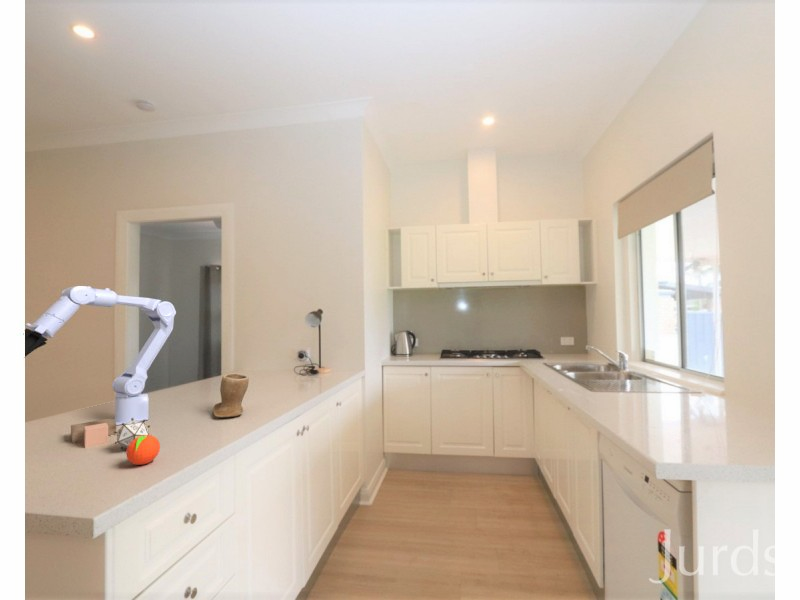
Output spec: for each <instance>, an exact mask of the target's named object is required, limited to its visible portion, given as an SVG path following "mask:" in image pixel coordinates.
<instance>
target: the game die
mask: <svg viewBox="0 0 800 600" xmlns="http://www.w3.org/2000/svg"><path fill="white" fill-rule="evenodd" d="M131 420H132V421H130V422H128V423H126V424H124V423H122V424H121V427H120V428H119V429H118V430H117V431H116V432H114V433H116V440H117V441H114V443H113V444H114V445H117V444H119V445H120V446H121V447H120V450H123V449H124V448H126V449H127V448H128V446H129V444H130V443H131V442H132V441H133V440H134V439H135V438H137V437H139V436H143V435H150V432H149V428H150V427H151V425H147V424H145V422H146V420H143V421H134V419H133V418H132V419H131ZM151 436H153V435H152V434H151Z"/></svg>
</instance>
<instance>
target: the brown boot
mask: <svg viewBox="0 0 800 600" xmlns="http://www.w3.org/2000/svg"><path fill="white" fill-rule="evenodd" d="M249 380H250V378H249V376H247V375H246V374H241V373H233V372H231V373H225V374H224V375H223V376H222V378H221V381H220V382H221V383H220V388H219V389H220V390H219V392H220V398H221V401H220V402H218V403H216V404H215V405H214V407H213V416H215V418H231V417H237V416H240V415H242V414H243V413H244V408H243V407H242V402H243V399H244V397H245V394H246V392H247V390H248V387H249Z"/></svg>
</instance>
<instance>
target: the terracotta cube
mask: <svg viewBox="0 0 800 600" xmlns="http://www.w3.org/2000/svg"><path fill="white" fill-rule="evenodd" d="M106 443H108V444H109V437H108V425H107V423H102V424H96V425H90V426H85V428H84V441H83V445H84V448H85V449H87V447H88V448H92V446H93V447H96V446H97V445H98V446H102V445H101V444H103V445H107V444H106Z"/></svg>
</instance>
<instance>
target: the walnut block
mask: <svg viewBox="0 0 800 600" xmlns="http://www.w3.org/2000/svg"><path fill="white" fill-rule="evenodd" d="M113 419H114V418H105V419H99V420H94V421H87V422H82V423H76V424H71V425H70V439H71V440H70V441H71V443H72V444H78V443H84V428H85V426H90V425H96V424H102V423H107V425H108V436H109V437H112V436H111V435H114V436H117V433H114V432H117V425H116V422H115V421H114V420H113Z"/></svg>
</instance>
